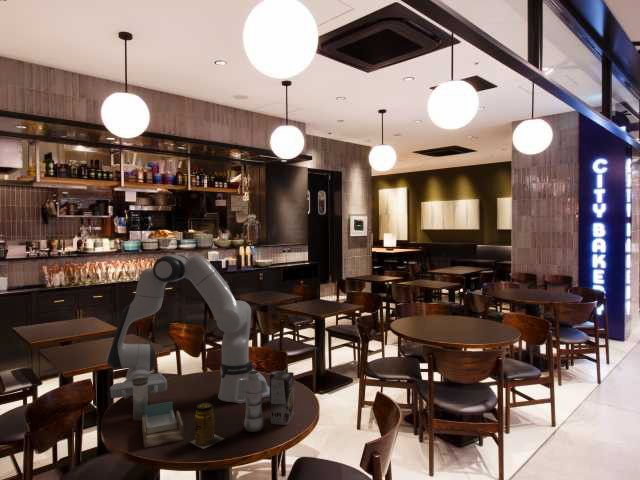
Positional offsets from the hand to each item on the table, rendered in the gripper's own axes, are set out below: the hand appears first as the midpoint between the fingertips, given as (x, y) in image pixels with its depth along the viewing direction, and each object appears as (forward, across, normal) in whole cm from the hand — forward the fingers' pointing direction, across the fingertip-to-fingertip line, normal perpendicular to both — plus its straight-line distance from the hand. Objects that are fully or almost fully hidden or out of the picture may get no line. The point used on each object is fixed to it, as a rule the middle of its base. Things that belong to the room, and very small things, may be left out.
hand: (140, 394), depth 163 cm
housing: (+21, +6, +8) cm, 23 cm away
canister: (+2, 0, +8) cm, 8 cm away
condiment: (+31, +19, +8) cm, 37 cm away
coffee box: (+26, +47, +8) cm, 54 cm away
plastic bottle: (+30, +35, +8) cm, 47 cm away
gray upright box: (+10, +51, +8) cm, 52 cm away
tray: (+14, +6, +8) cm, 17 cm away
